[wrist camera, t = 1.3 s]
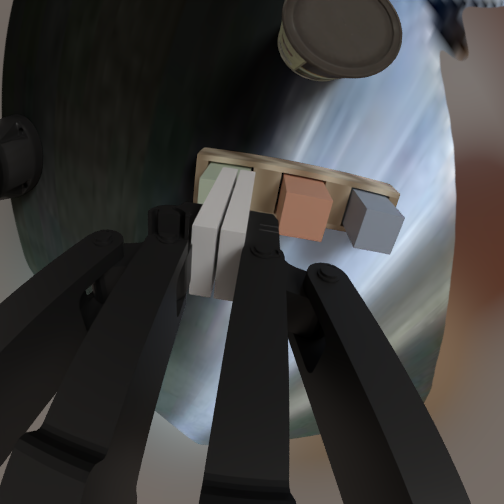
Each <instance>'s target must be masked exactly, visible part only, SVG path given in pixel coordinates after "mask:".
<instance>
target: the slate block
mask: <svg viewBox="0 0 504 504" xmlns="http://www.w3.org/2000/svg"><path fill="white" fill-rule="evenodd" d="M404 219H405V217H404V216H403V215H402V214H401V213H400V212H399V210H398V209H397V208H396V207H395V206H394V205H393V204H392V203H391V202H390V200H389V199H388V198H387V197H386V196H385V195H382V194H378V193H374V192H370V191H366V190H362V189H358V188H353V187H352V188H351V192H350V195H349V199H348V202H347V205H346V208H345V212H344V215H343V218H342V221H341V222H342V224H343V226H344V228H345V230H346V232H347V234H348V237H349V239H350V241H351V243H352V245H353V247H354V248H358V249H363V250H369V251H374V252H380V253H385V254H390V253H391V251H392V249H393V246H394V244H395V241H396V239H397V237H398V234H399V232H400V229H401V227H402V224H403V221H404Z"/></svg>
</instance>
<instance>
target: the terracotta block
mask: <svg viewBox="0 0 504 504" xmlns="http://www.w3.org/2000/svg"><path fill="white" fill-rule="evenodd" d="M332 204H333V200H332V198H331V196H330V194H329V192H328V190H327V188H326V186H325V185H324V183H323V181H322V180H318V179H313V178H308V177H303V176H298V175H293V174H287V173H283V178H282V183H281V188H280V193H279V198H278V202H277V207H276V216H277V219H278V223H279V235H284V236H290V237H296V238H302V239H307V240H313V241H319V242H321V241H322V237H323V234H324V231H325V228H326V224H327V221H328V217H329V214H330V211H331V207H332Z"/></svg>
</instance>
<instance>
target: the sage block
mask: <svg viewBox="0 0 504 504" xmlns="http://www.w3.org/2000/svg"><path fill="white" fill-rule="evenodd" d="M223 167H227V168H234V169H238V174H237V179H238V176H239V173H240V170H247V171H251V168H252V167H247V166H240V165H234V164H227V163H220V162H211V163H210V165H209V166H208V167H207V169H206V170H205V171H204V173H203V174H202V176H201V177H200V180H199V190H198V202H197V203H199V204H203V203H204V202H205V200H206V198H207V196H208V194H209V192H210V190H211V188H212V187H213V185H214V183H215V181H216V179H217V177H218V176H219V174H220V172H221V170H222V168H223ZM236 182H237V181H236Z"/></svg>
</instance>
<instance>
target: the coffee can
mask: <svg viewBox="0 0 504 504" xmlns="http://www.w3.org/2000/svg"><path fill="white" fill-rule="evenodd" d="M401 43H402V28H401V23H400V20H399V17H398V14H397V12H396V10H395V9H394V7H393V5H392V4H391V3H390V1H389V0H285V2H284V5H283V10H282V22H281V27H280V31H279V35H278V49H279V52H280V55H281V57H282V59H283V61H284V62H285V63H286V65H287V66H288V67H289V68H290V69H291V70H292V71H293V72H295V73H296V74H298V75H300V76H302V77H304V78H307V79H310V80H314V81H330V80H334V79H340V78H364V77H369V76H372V75H375V74H377V73H379V72H381V71H383V70H384V69H386V68H387V67H388V66H389V65H390V64H391V63H392V62H393V61H394V60H395V58H396V57H397V55H398V53H399V50H400V47H401Z"/></svg>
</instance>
